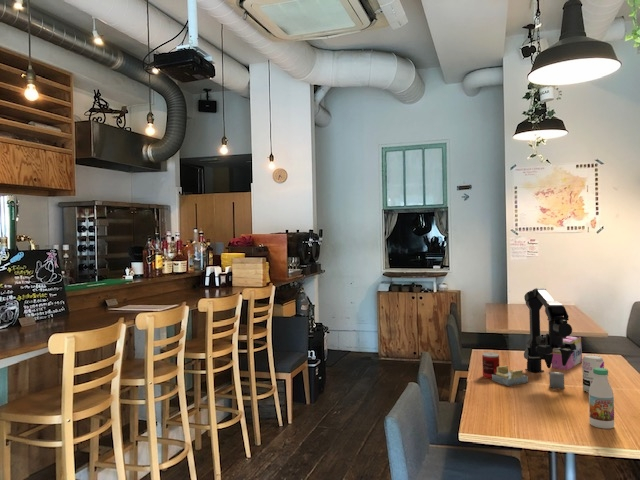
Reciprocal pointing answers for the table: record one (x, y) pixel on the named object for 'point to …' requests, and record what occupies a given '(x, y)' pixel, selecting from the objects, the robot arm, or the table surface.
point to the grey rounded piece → (556, 380)
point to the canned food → (490, 364)
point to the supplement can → (590, 369)
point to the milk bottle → (601, 400)
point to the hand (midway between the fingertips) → (556, 366)
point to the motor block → (509, 376)
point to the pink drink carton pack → (574, 358)
